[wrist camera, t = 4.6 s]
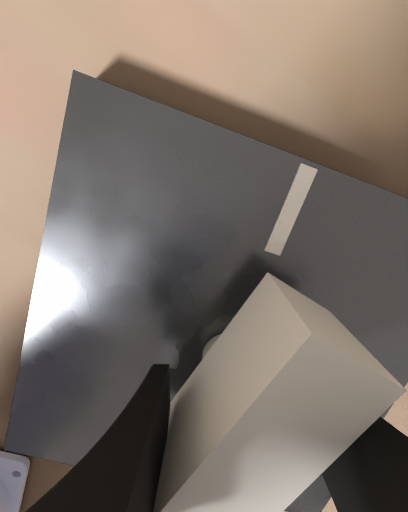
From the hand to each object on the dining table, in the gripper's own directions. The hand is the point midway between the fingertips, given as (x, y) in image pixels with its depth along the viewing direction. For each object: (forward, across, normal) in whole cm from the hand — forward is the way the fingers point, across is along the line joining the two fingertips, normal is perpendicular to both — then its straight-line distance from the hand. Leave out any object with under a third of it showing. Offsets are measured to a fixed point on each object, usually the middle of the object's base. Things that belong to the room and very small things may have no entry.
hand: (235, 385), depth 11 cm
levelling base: (+3, 0, 0) cm, 4 cm away
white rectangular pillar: (+2, 0, 0) cm, 2 cm away
